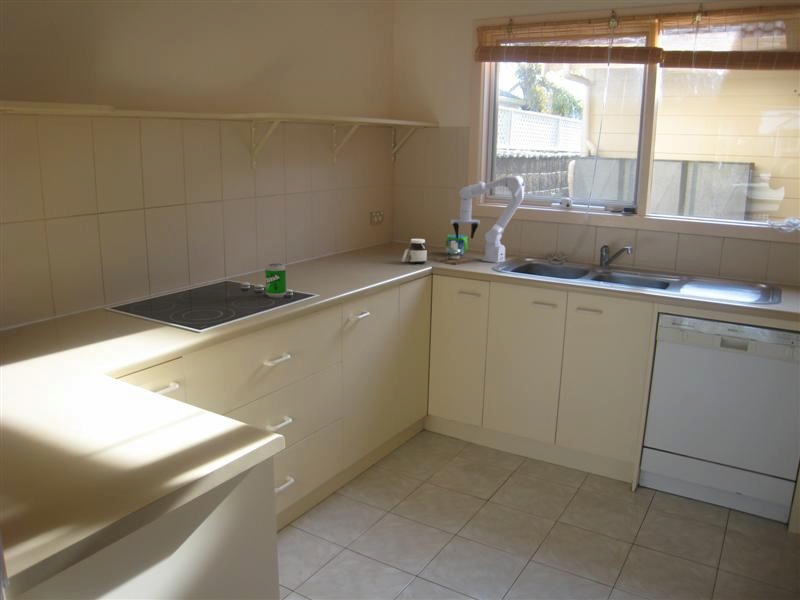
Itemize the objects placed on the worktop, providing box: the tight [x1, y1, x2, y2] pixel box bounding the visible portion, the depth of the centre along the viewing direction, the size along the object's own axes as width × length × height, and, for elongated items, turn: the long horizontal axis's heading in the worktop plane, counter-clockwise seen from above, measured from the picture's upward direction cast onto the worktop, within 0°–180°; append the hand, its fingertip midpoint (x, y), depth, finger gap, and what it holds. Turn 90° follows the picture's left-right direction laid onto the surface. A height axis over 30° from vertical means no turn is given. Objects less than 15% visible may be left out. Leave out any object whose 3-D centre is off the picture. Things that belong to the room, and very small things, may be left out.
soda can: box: [264, 262, 287, 298], centre depth 262 cm, size 8×8×12 cm
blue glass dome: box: [445, 241, 462, 256], centre depth 343 cm, size 9×8×6 cm
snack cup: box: [445, 234, 469, 257], centre depth 362 cm, size 16×10×10 cm
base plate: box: [433, 254, 474, 265], centre depth 344 cm, size 14×14×4 cm
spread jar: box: [401, 238, 428, 265], centre depth 336 cm, size 12×11×12 cm
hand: (464, 238), depth 351 cm, fingers open, 7 cm apart
